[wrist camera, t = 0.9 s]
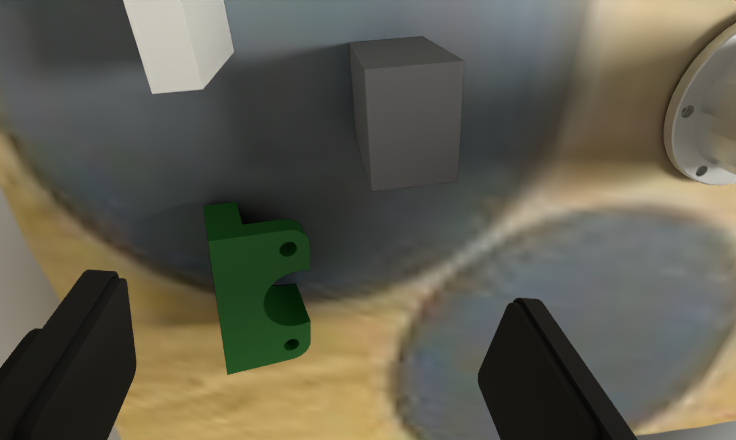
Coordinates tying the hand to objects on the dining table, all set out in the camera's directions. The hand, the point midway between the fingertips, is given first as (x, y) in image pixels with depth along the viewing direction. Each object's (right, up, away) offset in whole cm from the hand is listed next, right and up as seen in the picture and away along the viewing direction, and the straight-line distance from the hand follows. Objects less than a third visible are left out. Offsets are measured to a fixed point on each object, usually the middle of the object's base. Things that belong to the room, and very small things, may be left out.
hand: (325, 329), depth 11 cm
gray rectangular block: (+2, +11, +17) cm, 20 cm away
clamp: (-7, 0, +22) cm, 23 cm away
